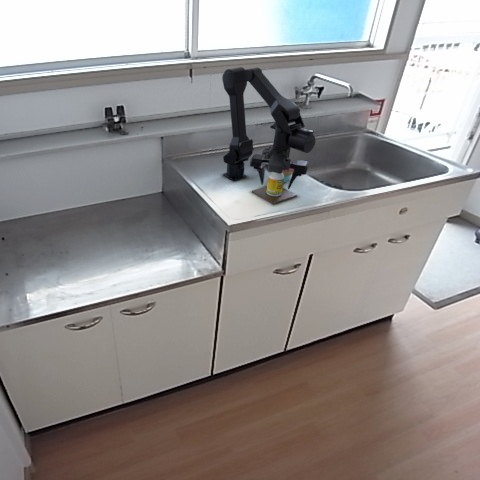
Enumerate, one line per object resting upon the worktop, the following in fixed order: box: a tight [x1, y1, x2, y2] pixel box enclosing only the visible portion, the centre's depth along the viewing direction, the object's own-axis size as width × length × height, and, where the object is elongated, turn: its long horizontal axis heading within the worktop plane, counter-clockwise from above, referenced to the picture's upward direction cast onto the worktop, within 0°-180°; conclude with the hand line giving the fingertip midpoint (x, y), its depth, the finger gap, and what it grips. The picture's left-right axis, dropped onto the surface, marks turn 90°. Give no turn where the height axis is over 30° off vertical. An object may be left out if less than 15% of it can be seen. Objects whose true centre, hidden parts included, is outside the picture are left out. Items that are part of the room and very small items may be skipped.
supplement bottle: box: [266, 170, 285, 196], centre depth 137 cm, size 5×5×10 cm
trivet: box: [251, 185, 298, 205], centre depth 140 cm, size 11×11×1 cm
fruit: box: [261, 145, 273, 167], centre depth 162 cm, size 9×8×15 cm
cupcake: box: [283, 168, 294, 183], centre depth 147 cm, size 9×8×12 cm
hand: (275, 186), depth 139 cm, fingers open, 9 cm apart
